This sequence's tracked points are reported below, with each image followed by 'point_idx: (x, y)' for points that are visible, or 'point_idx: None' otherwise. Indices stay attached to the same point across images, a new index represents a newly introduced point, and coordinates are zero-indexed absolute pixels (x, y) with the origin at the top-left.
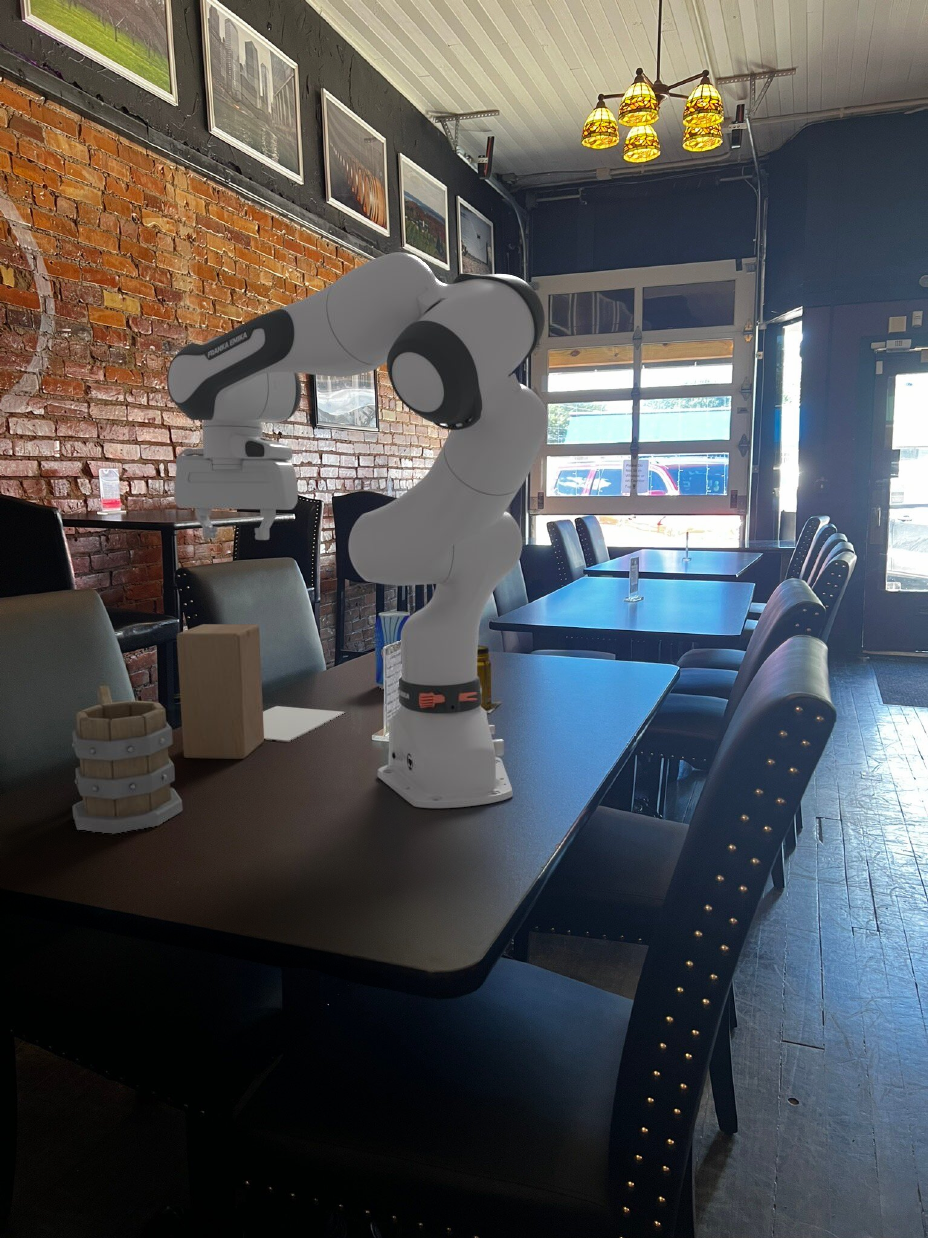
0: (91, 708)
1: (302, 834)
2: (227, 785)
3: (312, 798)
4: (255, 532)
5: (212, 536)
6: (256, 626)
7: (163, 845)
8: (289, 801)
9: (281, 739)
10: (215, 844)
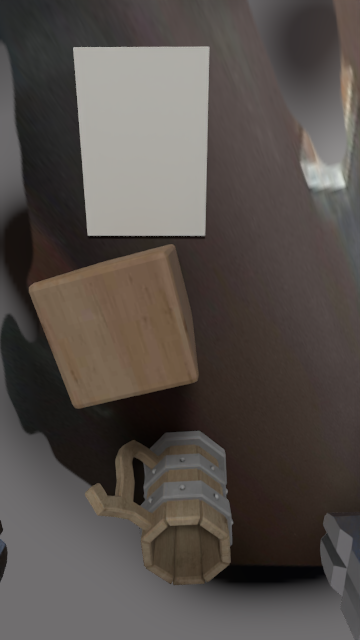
0: (148, 555)
1: (343, 458)
2: (222, 386)
3: (319, 392)
4: (345, 608)
5: (1, 560)
6: (169, 269)
7: (251, 498)
8: (301, 404)
9: (193, 234)
10: (287, 488)
